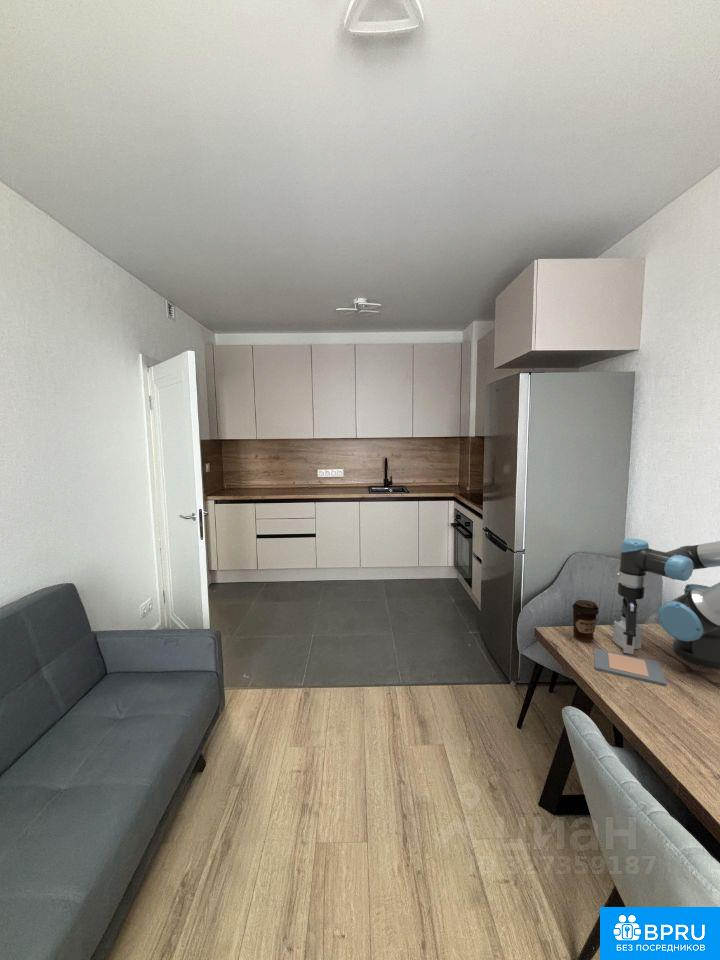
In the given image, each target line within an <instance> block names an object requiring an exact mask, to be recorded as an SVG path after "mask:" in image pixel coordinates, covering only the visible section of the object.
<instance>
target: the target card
mask: <svg viewBox="0 0 720 960" xmlns="http://www.w3.org/2000/svg"><path fill="white" fill-rule="evenodd" d="M593 660H594V670H595V671H598V672H603V673H606V674H607V673H608V674H613V675H616V676H619V677H620V676H621V677H624V678H630V679H634V680H637V681H642V682H647V683H651V684H654V685H657V686H658V685H659V686H662V687H663V686H664V687H667V682H666V678H665V676H664V672H663V669H662V666H661V663H660V662H659V660H658V661H657V660H652V659H647V658H643V657H638V656H633V655H630V654H626V653H624V654H623V653H619V652H616V651H615V652H614V651H610V650H605V649H600V648H596V647H594V648H593Z"/></svg>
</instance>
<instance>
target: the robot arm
mask: <svg viewBox="0 0 720 960" xmlns="http://www.w3.org/2000/svg"><path fill="white" fill-rule="evenodd" d="M715 567H717V568H718V567H720V540H719V541H712V542H706V543H700V544H695V545H683V546H680V547H678V548H676V549H672V550H669V551H660V550H656V549H652V548H650V546H649V542H648V541H647V540H644V539H641V538H632V537H631V538H625V539H623V540H622V542H621V548H620V560H619V572H618V573H616V576H618V583H617V584H618V585H617V594H618V595H619V596H621V597H623V598H622V605H621V610H620V611H621V620H620V621H626V632H623V634H625V638H624V649H623V650H622V651H623V653H624V654H627V655H634V651H635V649H634V640H635V637H636V625H637V612H638V611H637V610H638V602H637V600H642V599H644V597H645V586H646V577H647V573H650V574H654V575H658V576H660V577H661V576H662V577H665V578H669V579H671V580H675V581H676V580H677V581H682V582H685V581H688V580H689V579H690V577H692V575H693V571H694V570H702V569H708V568H715ZM683 592H684V593H683V594H682V595H679V596H678V597H676V598H674V599H672V600H670V601H666V602H664V603H663V604H662V605H661V606H660V608H659V610H658V614H657V615H658V620H659V624H660V626H661V627H662V628H663V630H664V631H665V632H666V633H667V634H668V635H669V636H670V637H672V638H674V639H673V641H672V647H671V649H672V651H673V652H674V654H675V655H677V656H679V657H681V658H682V659H684V660H686V661H687V662H690V663H693V664H695V665H699V666H703V667H707V668H712V669H713V668H714V669H720V581H719V582H718V583H715V584H714V585H711V586H707V585H703V584H696V583H689V584H686V585H685V586H684V590H683ZM629 631H630V632H629Z"/></svg>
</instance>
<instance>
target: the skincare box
mask: <svg viewBox="0 0 720 960" xmlns="http://www.w3.org/2000/svg"><path fill="white" fill-rule="evenodd" d="M623 632H626V621H621V620H614V623H613V635H612V636H613V638H612V641H613V642H614V643H616V644H617V645H618V646H619V647H620V648H622V649H623V650H624V638H625V634H623ZM629 632H630V631H629ZM642 633H643V628H642V627H640V626H639V625H637V624H636V637H635V640H634V650H640V649H641V647H642V636H643V635H642Z"/></svg>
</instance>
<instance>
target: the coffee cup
mask: <svg viewBox="0 0 720 960" xmlns="http://www.w3.org/2000/svg"><path fill="white" fill-rule="evenodd" d="M598 614H599V607H598V605H597V603H595V602H594V601H591V600H587V599H580V600H579V599H578V600H576V601H575V602H574V603H573V604H572V621H573V622H572V624H573V625H572V628H573V629H572V630H573V631H572V632H573V638H574V639H575V640H578V641H580V642H584V643H586V642H587V643H591V642H593V641H594V633H595V631H596V625H597V615H598Z"/></svg>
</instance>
